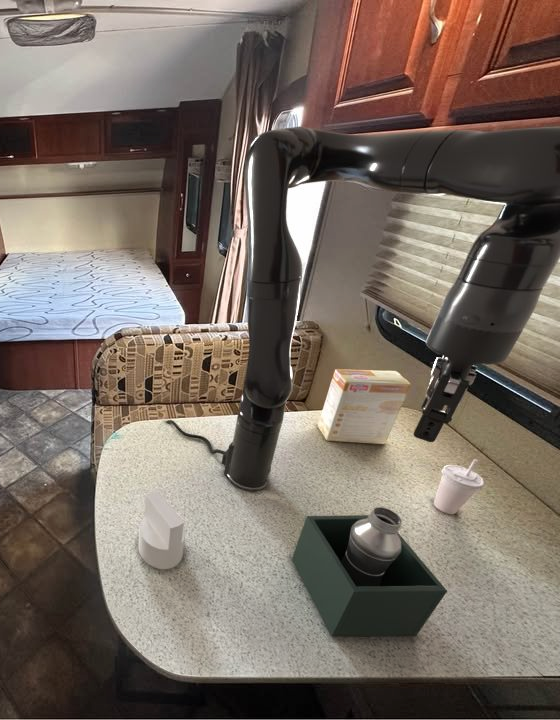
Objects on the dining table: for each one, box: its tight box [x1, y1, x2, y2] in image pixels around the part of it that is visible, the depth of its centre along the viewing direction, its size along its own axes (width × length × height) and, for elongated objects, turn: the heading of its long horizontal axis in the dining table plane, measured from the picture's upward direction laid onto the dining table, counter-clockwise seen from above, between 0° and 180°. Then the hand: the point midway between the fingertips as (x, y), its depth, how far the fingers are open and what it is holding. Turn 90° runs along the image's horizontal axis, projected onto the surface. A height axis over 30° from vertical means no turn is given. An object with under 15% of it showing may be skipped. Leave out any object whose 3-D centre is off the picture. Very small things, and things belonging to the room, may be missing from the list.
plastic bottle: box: [341, 506, 403, 587], centre depth 62 cm, size 6×7×20 cm
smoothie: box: [433, 458, 485, 515], centre depth 79 cm, size 6×6×14 cm
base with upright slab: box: [138, 489, 186, 570], centre depth 74 cm, size 9×9×12 cm
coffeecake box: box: [317, 368, 412, 445], centre depth 100 cm, size 15×7×20 cm, turn 80°
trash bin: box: [291, 514, 448, 638], centre depth 64 cm, size 14×14×13 cm
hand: (426, 424), depth 53 cm, fingers open, 8 cm apart
